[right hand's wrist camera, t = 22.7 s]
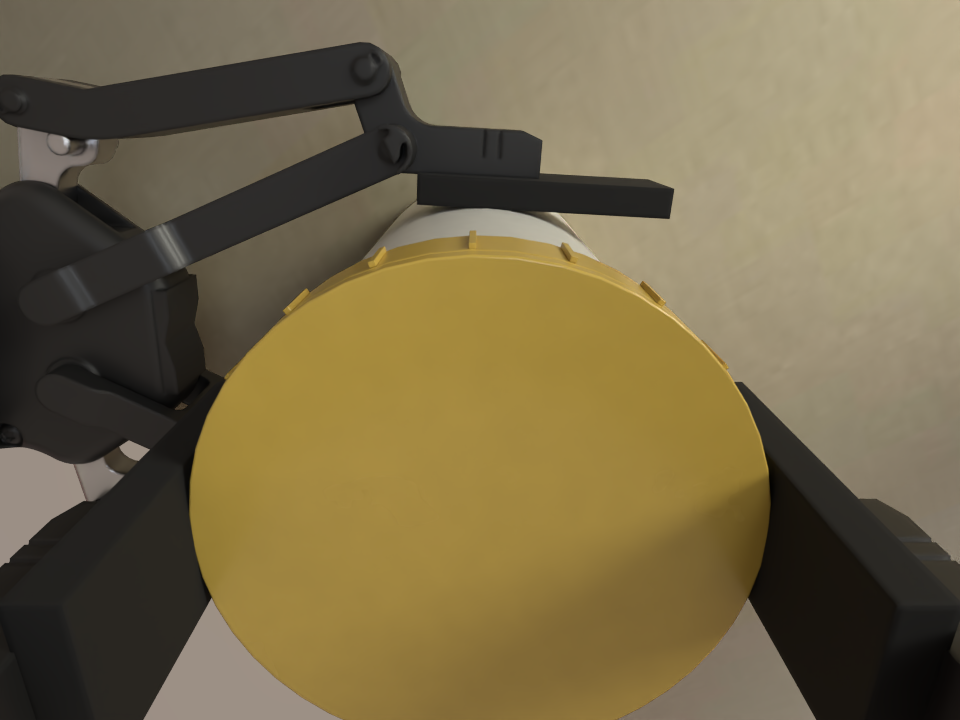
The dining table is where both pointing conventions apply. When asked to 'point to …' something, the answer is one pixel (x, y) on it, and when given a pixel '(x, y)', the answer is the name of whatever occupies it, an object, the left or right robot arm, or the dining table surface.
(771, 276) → the dining table surface
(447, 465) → the lid
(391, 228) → the jar
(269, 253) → the dining table surface
